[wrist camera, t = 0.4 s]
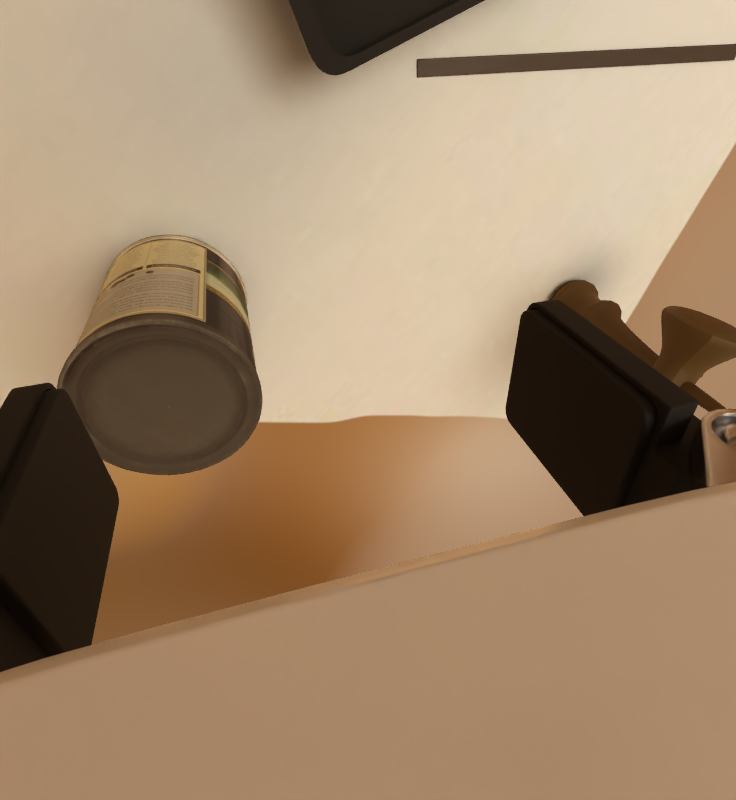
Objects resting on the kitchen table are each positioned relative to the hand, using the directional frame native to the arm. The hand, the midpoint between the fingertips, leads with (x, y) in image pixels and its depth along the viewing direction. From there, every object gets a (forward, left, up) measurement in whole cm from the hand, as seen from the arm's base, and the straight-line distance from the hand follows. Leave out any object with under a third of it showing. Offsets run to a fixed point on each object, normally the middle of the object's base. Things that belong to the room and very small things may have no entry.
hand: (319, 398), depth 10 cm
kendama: (+15, +29, -29) cm, 43 cm away
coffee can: (+10, -7, -29) cm, 31 cm away
